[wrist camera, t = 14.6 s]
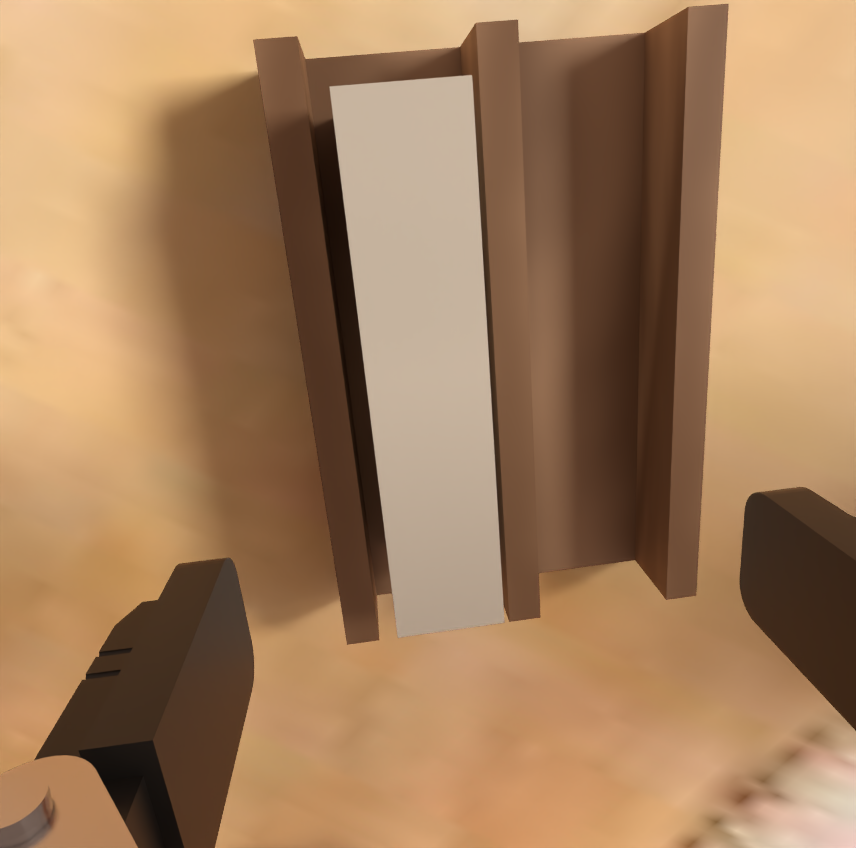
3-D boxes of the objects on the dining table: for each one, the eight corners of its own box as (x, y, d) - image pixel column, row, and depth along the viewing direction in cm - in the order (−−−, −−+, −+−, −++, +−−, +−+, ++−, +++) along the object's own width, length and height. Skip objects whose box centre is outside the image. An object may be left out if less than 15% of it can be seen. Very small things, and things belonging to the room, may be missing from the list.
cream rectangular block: (441, 108, 22) (472, 74, 16) (473, 534, 27) (504, 622, 21) (336, 117, 21) (329, 86, 16) (389, 545, 27) (397, 637, 21)
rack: (666, 37, 23) (728, 3, 19) (652, 544, 29) (696, 595, 25) (271, 68, 22) (253, 39, 18) (348, 585, 28) (347, 644, 24)
